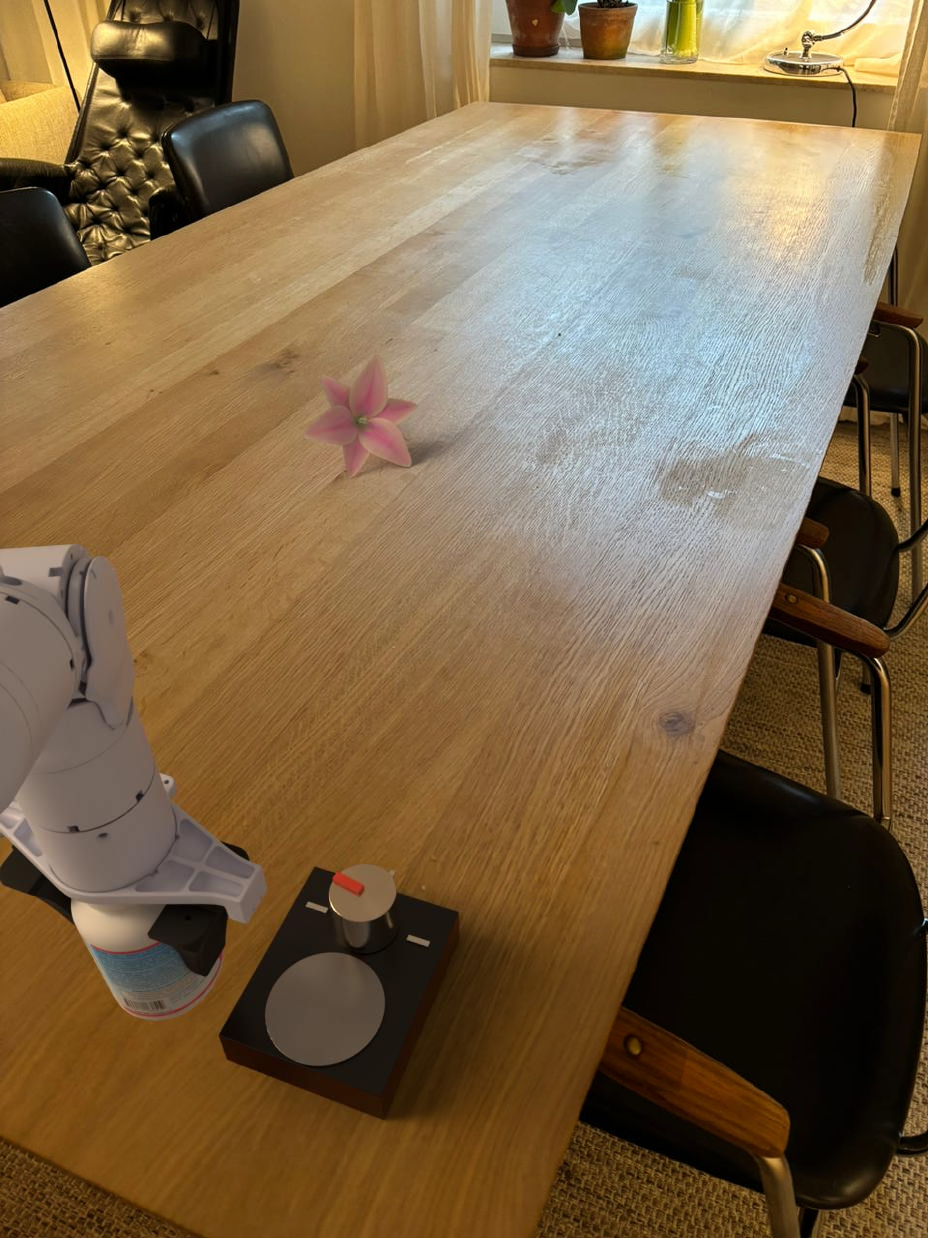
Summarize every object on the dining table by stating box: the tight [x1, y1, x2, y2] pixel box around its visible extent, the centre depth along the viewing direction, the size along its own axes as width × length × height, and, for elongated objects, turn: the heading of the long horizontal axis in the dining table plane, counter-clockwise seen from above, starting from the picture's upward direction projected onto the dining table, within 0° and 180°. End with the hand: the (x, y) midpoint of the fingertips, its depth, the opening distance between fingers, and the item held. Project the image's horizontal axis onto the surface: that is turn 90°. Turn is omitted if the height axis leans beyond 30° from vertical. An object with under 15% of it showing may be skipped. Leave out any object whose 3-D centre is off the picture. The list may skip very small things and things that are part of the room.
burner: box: [265, 953, 385, 1067], centre depth 57 cm, size 7×7×1 cm
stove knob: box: [329, 863, 400, 954], centre depth 59 cm, size 4×4×4 cm
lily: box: [300, 354, 419, 479], centre depth 106 cm, size 12×12×10 cm
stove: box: [217, 865, 461, 1121], centre depth 60 cm, size 13×10×3 cm
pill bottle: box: [71, 898, 225, 1021], centre depth 51 cm, size 6×6×11 cm
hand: (156, 938), depth 52 cm, fingers closed on pill bottle, 6 cm apart
